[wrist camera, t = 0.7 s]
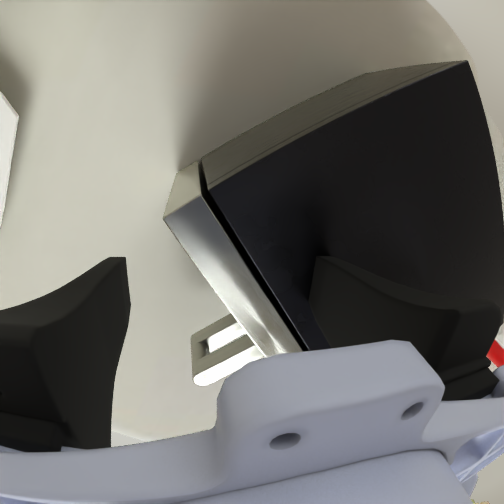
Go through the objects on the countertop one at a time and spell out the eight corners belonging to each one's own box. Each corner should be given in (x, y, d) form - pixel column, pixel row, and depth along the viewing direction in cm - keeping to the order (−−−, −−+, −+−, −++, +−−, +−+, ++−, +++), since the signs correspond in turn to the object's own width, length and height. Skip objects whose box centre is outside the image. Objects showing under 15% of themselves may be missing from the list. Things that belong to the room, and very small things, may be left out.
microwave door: (212, 344, 25) (227, 443, 16) (112, 216, 20) (61, 288, 11) (286, 303, 25) (331, 393, 16) (197, 160, 19) (201, 193, 11)
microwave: (289, 356, 27) (328, 446, 18) (168, 178, 20) (148, 228, 11) (431, 266, 26) (503, 323, 17) (365, 73, 19) (467, 60, 10)
